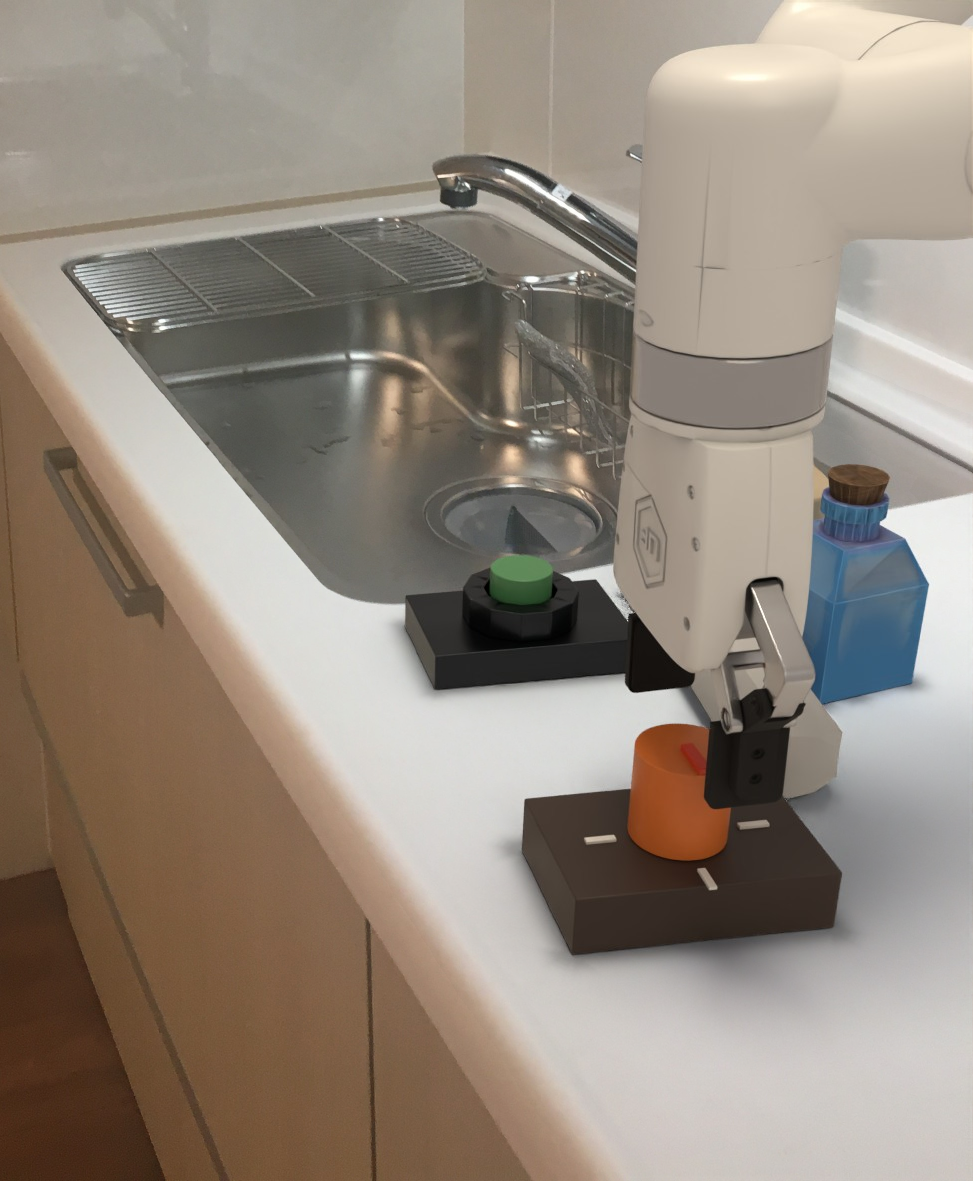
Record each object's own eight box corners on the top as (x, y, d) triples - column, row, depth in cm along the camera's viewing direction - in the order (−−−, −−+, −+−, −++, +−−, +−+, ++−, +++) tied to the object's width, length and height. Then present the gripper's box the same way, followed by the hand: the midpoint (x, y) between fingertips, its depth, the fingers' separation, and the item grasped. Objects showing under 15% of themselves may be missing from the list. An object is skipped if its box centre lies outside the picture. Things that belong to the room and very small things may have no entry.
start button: (541, 578, 97) (542, 552, 96) (559, 605, 93) (561, 578, 93) (482, 583, 96) (483, 557, 95) (498, 610, 93) (499, 583, 92)
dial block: (758, 823, 79) (765, 768, 78) (837, 931, 72) (846, 873, 70) (519, 846, 78) (522, 791, 77) (574, 959, 71) (578, 900, 69)
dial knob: (613, 811, 75) (620, 722, 73) (703, 801, 76) (713, 713, 74) (648, 866, 71) (657, 774, 69) (743, 855, 72) (755, 763, 70)
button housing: (594, 610, 100) (598, 552, 99) (638, 671, 93) (643, 610, 92) (404, 626, 99) (405, 568, 98) (434, 689, 92) (436, 627, 91)
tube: (880, 740, 78) (716, 528, 101) (780, 715, 77) (637, 507, 100) (831, 828, 80) (681, 602, 103) (734, 805, 80) (604, 582, 102)
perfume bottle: (751, 655, 94) (774, 464, 89) (839, 636, 96) (867, 447, 91) (819, 704, 89) (848, 504, 84) (911, 683, 91) (946, 486, 86)
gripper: (569, 320, 71) (557, 658, 79) (721, 464, 56) (688, 866, 64) (733, 305, 72) (706, 641, 80) (928, 442, 57) (871, 844, 64)
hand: (698, 741), depth 72 cm, fingers open, 9 cm apart
